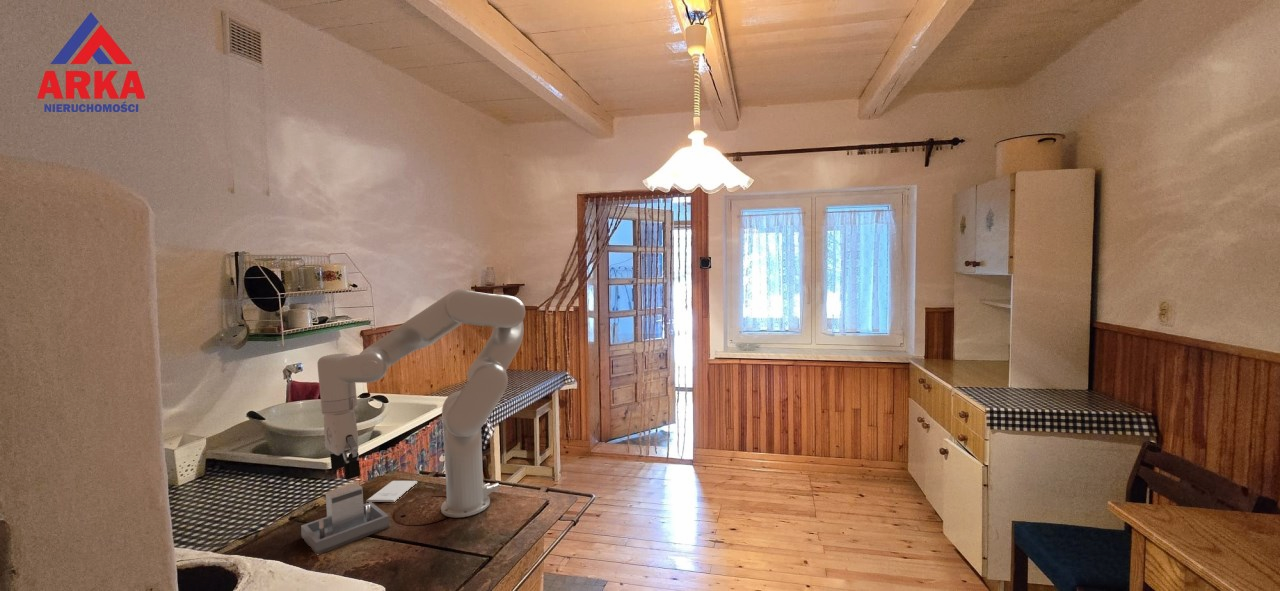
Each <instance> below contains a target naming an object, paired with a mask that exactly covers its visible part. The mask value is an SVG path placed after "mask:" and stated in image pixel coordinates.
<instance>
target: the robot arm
mask: <svg viewBox="0 0 1280 591" xmlns="http://www.w3.org/2000/svg"><path fill="white" fill-rule="evenodd" d="M525 317H526V307H525V304H524V303H523V302H522V300H520V299H519V298H518V297H516V296H513V295H509V294H494V293H485V292H478V291H473V290H468V289H465V288H464V289H463V288H458V289H454V290H452V291H451V292H449V293H447V294H446V295H444V296H443V297H442V298H440V299H439V300H437V301H436V302H434V303H432V304H431V305H429V306H427V307H426V308H424V309H423V310H421V311H420V312H419V313H417V314H416V315H414V316H413V317H411V318H409V319H408V320H406V321H405V322H404V323H402V324H401V325H400V326H397V328H395V329H394V330H392V331H391V332H389V333H387V334H386V335H384V336H382V337H381V338H380V339H378V340H376V341H375V342H374V343H372V344H370V345H369V346H367V347H366V348H364V349H363V350H362V351H361V352H360V353H359V354H353V355H351V354H349V353H334V354H329V355H328V354H327V355H325V356H321V357H320V358H318V360H317V375H318V385H319V386H318V387H319V394H320V395H319V396H320V406H321V414H322V415H323V419H324V420H323V430H324V431H323V432H324V446H325V449H326V450H328V451H329V453H330V455H329V456H330V467H331V470H333V471H334V470H338V469H341V468H343V473H344V479H345V480H346V481H348V480H351V479H353V478H357V477H360V476H361V469H360V468H361V466H360V456H359V454H360V453H359V433H358V432H359V431H358V424H357V418H356V413H355V410H357V409H358V407H359V406H358V398H357V388H356V384H357V383H358V384H359V383H367V384H368V383H375V382H377V381H380V380H382V379H383V378H384V377H385V375H386V374H387V372H388V368H390V367H391V366H393V365H394V364H396V363H398V361H400V360H401V359H403V358H405V357H406V356H408V355H410V354H411V353H413V352H415V351H419V350H420V349H423V348H427V347H430V346H432V345H434V344H435V343H436V342H437V341H439V340H441V339H442V338H443V337H445V336H446V335H447V334H449V333H450V332H452V331H453V330H455V329H457V328H458V327H459V326H461V325H462V324H466V325H474V326H483V327H492V331H491V335H490V336H489V338H488V340H487V341H486V343H485V345H484V347H483V348H482V349H481V351H480V352H479V354H478V355H477V357H476V358H475V359H474V361H473V363H471V365H470V366H469V368H468V369H467V373H466V380H467V382H466V384H465V385H464V387H463V388H462V389H461V390H457V391H455V392H454V391H453V392H452V393H450V394H449V395H448V396H447V397H446V399H445V400H444V402H443V405H442V409H441V416H442V417H441V420H442V427H443V428H442V430H443V431H442V432H443V443H444V444H443V445H444V467H445V469H444V470H445V471H444V472H445V489H446V490H445V491H446V492H445V493H446V500H444V502H443V503H442V504H441V506H440V512H441V514H442V515H444V516H445V517H449V518H458V519H459V518H465V517H471V516H474V515H478V514H479V513H481V512H483V511H485V510H486V509H487V508H488V507H489V506H490V503H491V497H490V496H489V495H490V494H491V493H493V492H496V491H499V490H500V489H501V487H500V484H499V482H495V483H493V484H491V483H490V482H487V483H484V472H483V471H484V470H483V469H484V468H483V450H482V449H483V444H482V443H483V442H482V427H483V426H485V424H486V422H487V421H488V419H489V417H490V416H491V414H492V413H493V411H494V410H495V409H496V407H497V405H498V404H499V401H500V400H501V399H502V397H503V395H504V394H505V392H506V389H507V387H508V382H509V377H508V373H507V370H508V368H509V367H510V365H511V364H512V361H513V360H514V358H515V357H516V355H517V353H518V351H519V349H520V348H521V344H522V342H523V338H524V334H525V332H524V330H525V326H524V319H525Z"/></svg>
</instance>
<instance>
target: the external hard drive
mask: <svg viewBox="0 0 1280 591" xmlns="http://www.w3.org/2000/svg"><path fill="white" fill-rule="evenodd" d="M417 483H418V481H417V480H391V481H390V482H388V483H387V484H386V485H385V486H384V487H382V488H381V489H380V490H378V491H377V492H376V493H374V494H373V495H371V497H369V498H368V499H366V501H365V502H366V503H367V502H395V501H396V500H397V499H399V497H401V496H402V495H403V494H404V493H405V492H406V491H408V490H409V489H410V488H411V487H413V486H414V485H415V484H417ZM417 485H418V484H417ZM413 488H414V487H413ZM401 498H402V497H401ZM399 500H400V499H399ZM396 502H397V501H396ZM396 502H395V503H396Z"/></svg>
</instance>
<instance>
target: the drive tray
mask: <svg viewBox="0 0 1280 591" xmlns="http://www.w3.org/2000/svg"><path fill="white" fill-rule="evenodd" d="M363 506H364V523H363V524H360V525H358V526H355V527H352V528H350V529H347V530H344V531H341V532H339V533H336V534H333V535H330V534H329V533H328V526H327V516H325V517H322V518H319V519H316V520H314V521H310V522H307V523H304V524H302V525H300V526H301V527H300V531H301V533H300V534H301V538H302V540H303V539H304V543H306V544H307V546H308V547H309V546H310V547H311V548H312V549H311V548H310V547H309V548H310V549H311V550H312V552H313V553H314V552H315V553H316V554H315V553H314V554H315V555H316V556H318V555H317V554H319V555H321V554H320V553H322V554H324V553H323V552H325V553H327V552H329V551H332V550H335V549H337V548H339V547H343V546H345V545H347V544H350V543H353V542H356V541H358V540H361V539H363V538H366V537H369V536H371V535H373V534H377V533H378V532H381V531H384V530H387V529H389V528H390V524H391V523H390V515H389V514H388V513H387V512H386V511H384V510H382V509H381V508H380V507H379V506H377V505H376V503H372V502H369V503H367V502H366V503H363ZM326 551H327V552H326Z"/></svg>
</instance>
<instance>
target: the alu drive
mask: <svg viewBox="0 0 1280 591" xmlns="http://www.w3.org/2000/svg"><path fill="white" fill-rule="evenodd" d="M325 504H326V505H325V507H326V508H325V509H326V517H327V526H328V533H329V534H330V535H333V534H336V533H339V532H341V531H344V530H347V529H350V528H352V527H355V526H358V525H360V524H363V523H364V506H363V504H364V492H363V486H362V485H360V484H359V483H357V482H356V483H353V484H350V485H346V486H341V487H338V488H336V489H332V490H329V491H325Z"/></svg>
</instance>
